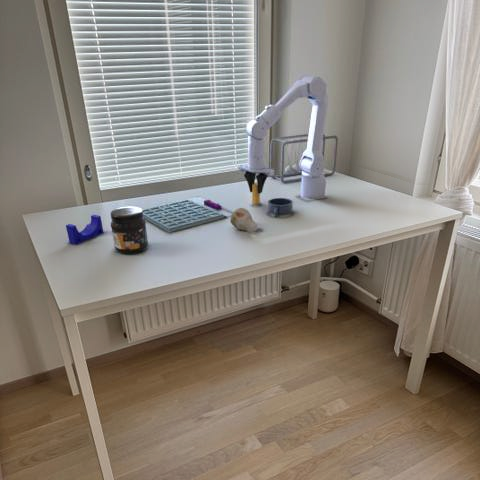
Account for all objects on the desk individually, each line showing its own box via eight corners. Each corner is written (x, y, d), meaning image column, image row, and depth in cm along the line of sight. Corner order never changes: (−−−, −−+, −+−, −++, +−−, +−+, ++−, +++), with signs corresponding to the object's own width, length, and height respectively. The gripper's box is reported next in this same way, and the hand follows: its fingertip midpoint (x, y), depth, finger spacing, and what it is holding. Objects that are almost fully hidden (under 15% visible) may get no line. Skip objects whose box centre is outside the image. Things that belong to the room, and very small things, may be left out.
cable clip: (94, 230, 158) (91, 213, 155) (103, 232, 156) (100, 215, 153) (66, 242, 150) (62, 224, 147) (75, 244, 148) (72, 226, 145)
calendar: (133, 212, 175) (132, 206, 173) (196, 197, 189) (196, 191, 188) (169, 232, 156) (168, 225, 155) (236, 214, 170) (236, 208, 169)
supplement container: (110, 255, 140) (104, 217, 134) (120, 241, 149) (114, 205, 143) (144, 255, 140) (139, 217, 133) (152, 242, 149) (147, 205, 142)
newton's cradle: (321, 170, 224) (324, 131, 215) (335, 175, 217) (338, 135, 207) (269, 178, 213) (270, 138, 203) (281, 183, 205) (282, 142, 196)
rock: (249, 238, 151) (235, 210, 148) (237, 241, 160) (224, 215, 157) (266, 228, 153) (253, 200, 151) (254, 232, 162) (241, 206, 160)
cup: (271, 208, 176) (271, 197, 173) (294, 210, 173) (295, 199, 171) (263, 218, 166) (263, 206, 164) (287, 221, 164) (288, 208, 161)
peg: (257, 201, 181) (257, 182, 177) (261, 203, 178) (261, 184, 174) (250, 202, 180) (250, 183, 176) (254, 204, 177) (254, 185, 173)
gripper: (233, 155, 170) (234, 192, 177) (267, 160, 163) (267, 197, 171) (243, 152, 175) (244, 187, 182) (277, 156, 168) (276, 192, 176)
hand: (255, 192), depth 177 cm, fingers closed on peg, 3 cm apart
